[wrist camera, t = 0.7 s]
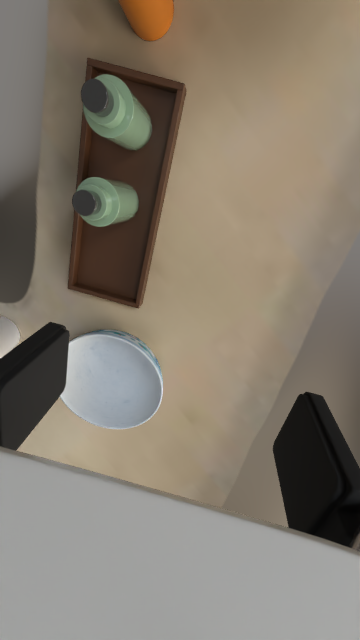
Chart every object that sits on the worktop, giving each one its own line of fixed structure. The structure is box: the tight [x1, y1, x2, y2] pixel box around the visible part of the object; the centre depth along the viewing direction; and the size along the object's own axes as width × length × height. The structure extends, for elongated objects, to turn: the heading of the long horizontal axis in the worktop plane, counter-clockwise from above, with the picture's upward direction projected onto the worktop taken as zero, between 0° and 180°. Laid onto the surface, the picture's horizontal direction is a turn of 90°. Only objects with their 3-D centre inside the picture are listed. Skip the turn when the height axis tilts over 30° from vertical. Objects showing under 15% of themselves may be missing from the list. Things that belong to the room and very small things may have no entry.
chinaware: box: [60, 330, 163, 429], centre depth 41 cm, size 15×15×8 cm
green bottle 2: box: [72, 177, 139, 227], centre depth 30 cm, size 5×5×10 cm
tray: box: [68, 58, 186, 308], centre depth 34 cm, size 25×10×2 cm, turn 166°
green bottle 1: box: [81, 74, 152, 151], centre depth 27 cm, size 5×5×10 cm
